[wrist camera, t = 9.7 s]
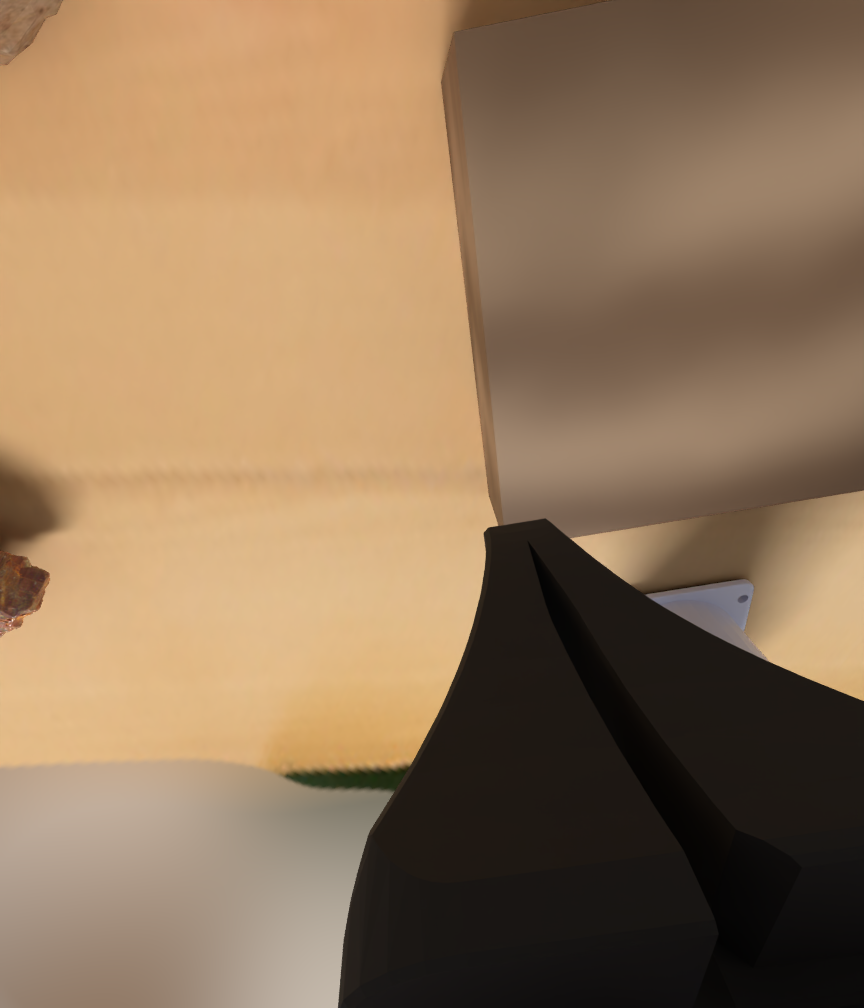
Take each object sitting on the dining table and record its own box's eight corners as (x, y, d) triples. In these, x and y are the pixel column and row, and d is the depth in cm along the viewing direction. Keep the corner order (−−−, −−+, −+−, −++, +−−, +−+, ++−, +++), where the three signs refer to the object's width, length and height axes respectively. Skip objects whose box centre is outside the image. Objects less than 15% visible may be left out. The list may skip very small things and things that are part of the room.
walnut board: (860, 433, 20) (954, 475, 17) (489, 496, 21) (505, 548, 17) (1005, -30, 13) (1217, -122, 10) (441, 81, 14) (454, 31, 10)
